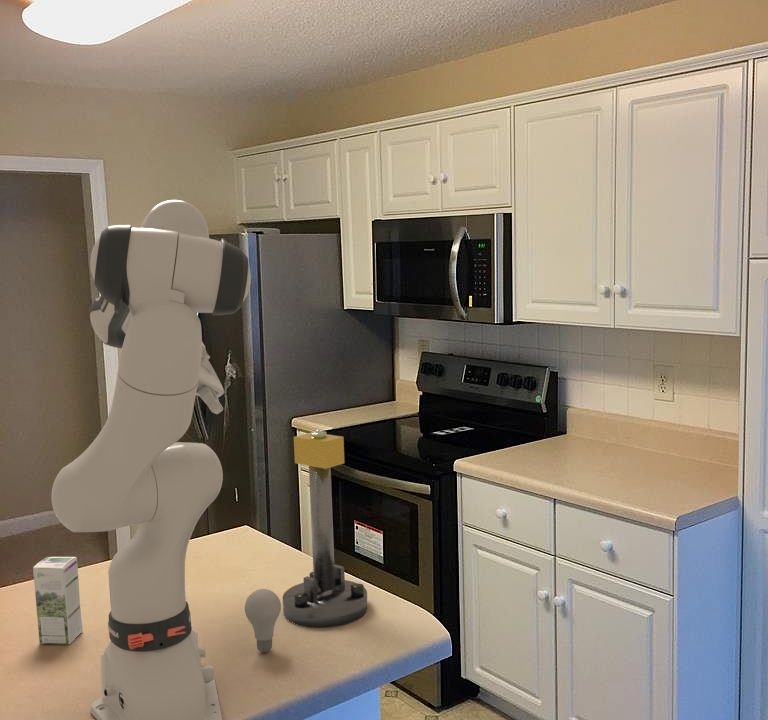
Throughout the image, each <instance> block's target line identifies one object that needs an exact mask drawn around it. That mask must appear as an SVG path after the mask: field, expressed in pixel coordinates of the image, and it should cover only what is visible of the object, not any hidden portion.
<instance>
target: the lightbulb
mask: <svg viewBox="0 0 768 720" xmlns="http://www.w3.org/2000/svg"><path fill="white" fill-rule="evenodd" d="M281 604H282V603H281V601H280V598H279V596H278V595H277V594H276V593H275V592H274V591H272V590H271V589H268V588H260V589H256V590H254V591H252V592H251V593H250V594H249V595H248V597H247V598H246V600H245V603H244V613H245V616H246V618H247V620H248V622H249V623H250V624H251V626H252V629H253V633H254V638H255V639H256V648H257V650H258V651H259V652H261V653H263V654H265V653H268V652H269V651H271V650H272V649H273V637H274V633H275V632H274V631H275V625H276V623H277V620H278V618H279V617H280V613H281V611H282V605H281Z"/></svg>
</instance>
